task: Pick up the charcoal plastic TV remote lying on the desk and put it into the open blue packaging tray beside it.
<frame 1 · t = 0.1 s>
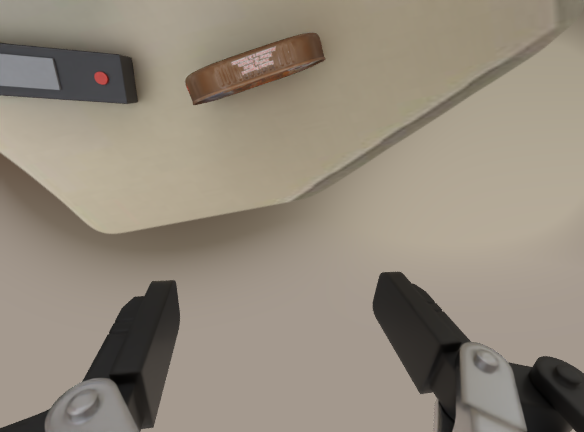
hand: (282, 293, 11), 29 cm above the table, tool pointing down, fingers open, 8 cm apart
tin: (253, 72, 33), on the table
remote: (60, 74, 30), on the table
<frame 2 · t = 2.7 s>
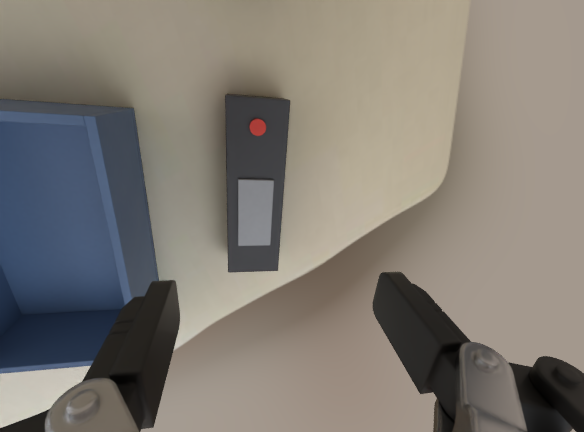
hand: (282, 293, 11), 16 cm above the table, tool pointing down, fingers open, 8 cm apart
remote: (253, 183, 26), on the table
open blue packaging tray: (70, 224, 24), on the table
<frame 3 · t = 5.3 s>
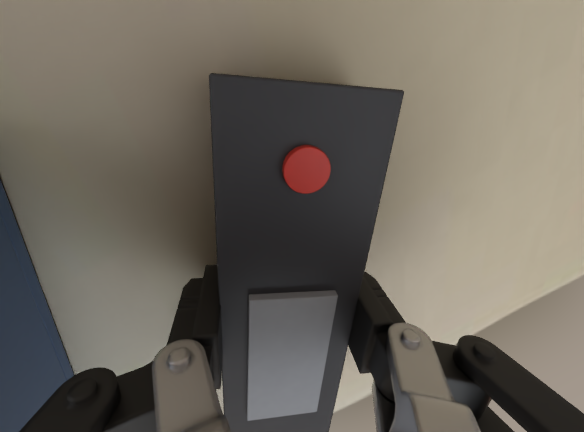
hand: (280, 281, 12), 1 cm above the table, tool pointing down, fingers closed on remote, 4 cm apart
remote: (278, 267, 12), on the table, touching gripper
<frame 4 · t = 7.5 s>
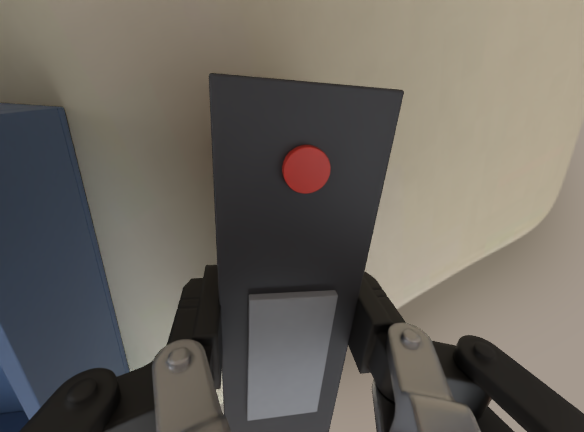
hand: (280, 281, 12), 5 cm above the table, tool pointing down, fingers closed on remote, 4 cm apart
remote: (278, 267, 12), point 4 cm above the table, touching gripper
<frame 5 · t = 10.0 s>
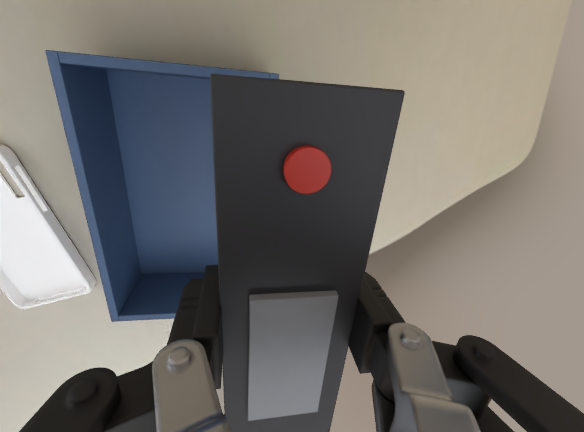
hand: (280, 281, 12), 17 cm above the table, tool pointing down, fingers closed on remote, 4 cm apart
remote: (278, 268, 12), point 16 cm above the table, touching gripper
phone case: (21, 230, 26), on the table
open blue packaging tray: (196, 187, 26), on the table
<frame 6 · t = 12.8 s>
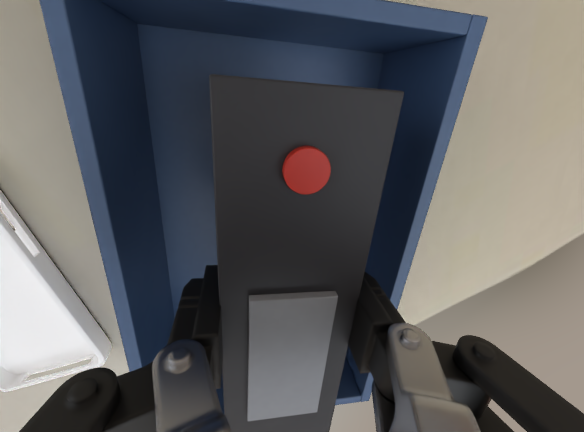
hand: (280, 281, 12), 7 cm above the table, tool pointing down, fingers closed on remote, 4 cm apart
remote: (278, 268, 12), point 6 cm above the table, touching gripper
phone case: (0, 281, 17), on the table
open blue packaging tray: (262, 213, 18), on the table
when the fingers open (2 cm above the table, at t = 15.7 s): remote stays where it is, resting on open blue packaging tray.
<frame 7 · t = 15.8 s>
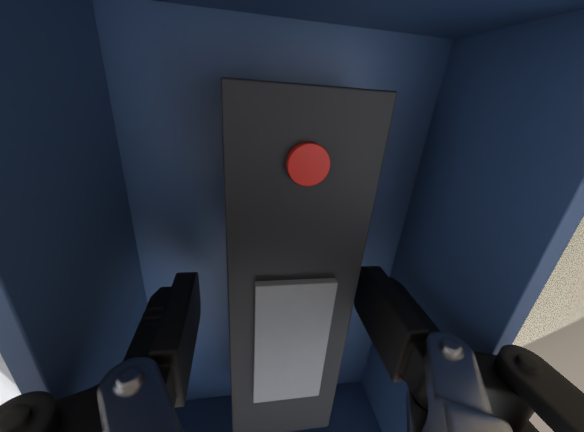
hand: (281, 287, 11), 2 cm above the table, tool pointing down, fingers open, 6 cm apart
remote: (281, 260, 13), resting on open blue packaging tray
open blue packaging tray: (276, 254, 13), on the table
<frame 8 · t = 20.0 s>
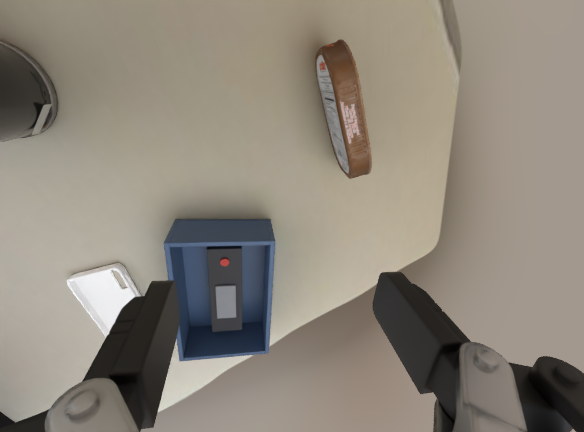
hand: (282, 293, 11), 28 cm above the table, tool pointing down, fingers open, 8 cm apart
tin: (331, 113, 36), on the table
remote: (227, 278, 43), resting on open blue packaging tray
phone case: (121, 305, 43), on the table
open blue packaging tray: (226, 276, 44), on the table
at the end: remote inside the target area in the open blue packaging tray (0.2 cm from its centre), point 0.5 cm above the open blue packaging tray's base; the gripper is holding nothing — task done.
